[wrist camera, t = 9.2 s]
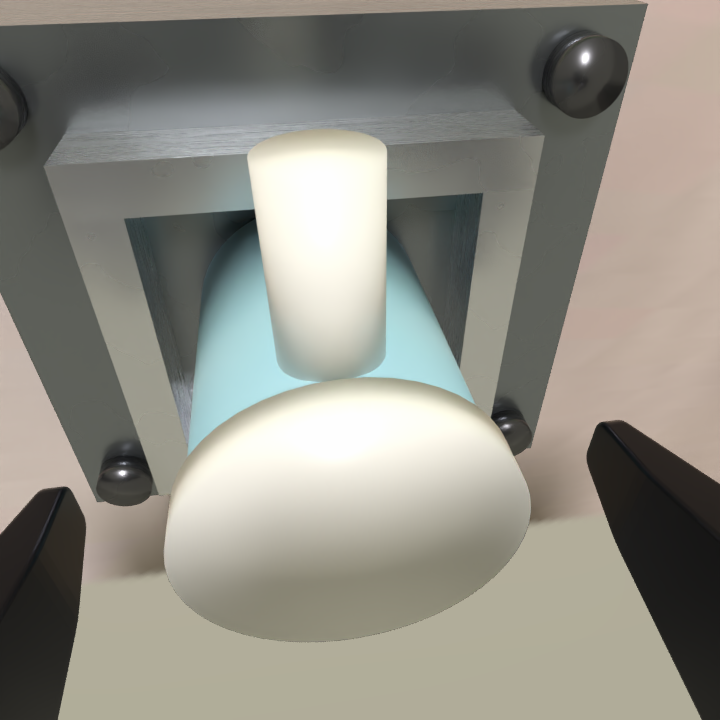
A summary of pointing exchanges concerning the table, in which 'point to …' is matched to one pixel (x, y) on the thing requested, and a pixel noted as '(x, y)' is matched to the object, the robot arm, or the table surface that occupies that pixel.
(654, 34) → the table surface
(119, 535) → the table surface
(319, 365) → the pump canister
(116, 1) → the grey metal socket plate
